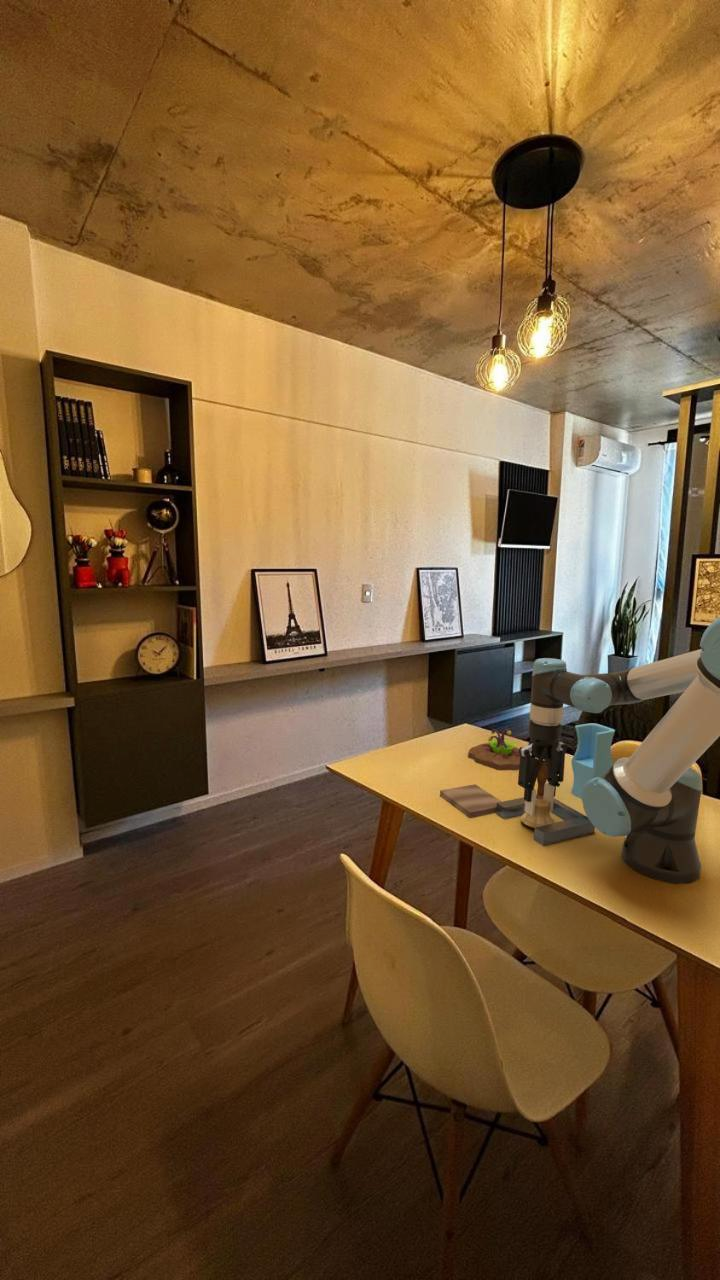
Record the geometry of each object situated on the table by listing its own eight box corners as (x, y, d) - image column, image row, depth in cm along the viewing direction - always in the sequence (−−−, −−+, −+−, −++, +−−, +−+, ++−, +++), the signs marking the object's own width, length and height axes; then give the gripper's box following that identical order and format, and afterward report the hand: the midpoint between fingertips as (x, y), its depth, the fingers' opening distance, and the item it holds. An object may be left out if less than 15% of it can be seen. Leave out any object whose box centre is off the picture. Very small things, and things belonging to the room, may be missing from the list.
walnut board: (506, 810, 140) (507, 804, 139) (469, 817, 135) (470, 812, 134) (474, 789, 152) (475, 784, 152) (439, 795, 147) (440, 790, 147)
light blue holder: (568, 792, 152) (574, 725, 149) (587, 787, 156) (593, 722, 153) (591, 803, 145) (598, 733, 142) (610, 798, 149) (617, 730, 146)
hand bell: (550, 815, 136) (554, 756, 133) (559, 831, 127) (564, 768, 125) (517, 813, 136) (521, 754, 134) (524, 828, 128) (528, 766, 126)
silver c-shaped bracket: (594, 832, 129) (595, 821, 128) (542, 845, 122) (543, 833, 122) (544, 803, 144) (545, 793, 144) (496, 813, 137) (496, 802, 137)
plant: (503, 776, 164) (506, 741, 162) (458, 756, 180) (460, 724, 178) (544, 764, 175) (546, 731, 173) (498, 746, 191) (500, 716, 189)
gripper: (561, 714, 135) (555, 799, 139) (505, 720, 128) (499, 810, 131) (584, 722, 129) (577, 811, 132) (527, 729, 121) (520, 824, 124)
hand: (538, 810), depth 131 cm, fingers closed on hand bell, 5 cm apart
